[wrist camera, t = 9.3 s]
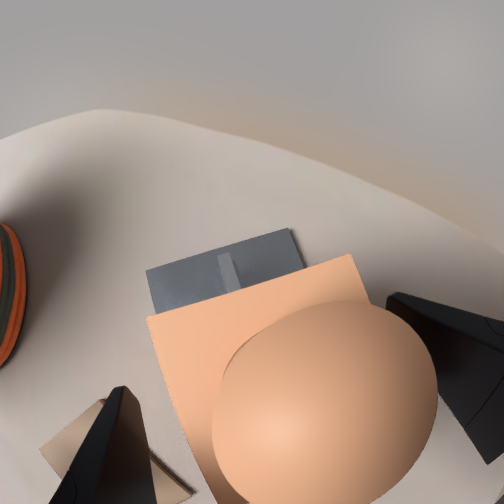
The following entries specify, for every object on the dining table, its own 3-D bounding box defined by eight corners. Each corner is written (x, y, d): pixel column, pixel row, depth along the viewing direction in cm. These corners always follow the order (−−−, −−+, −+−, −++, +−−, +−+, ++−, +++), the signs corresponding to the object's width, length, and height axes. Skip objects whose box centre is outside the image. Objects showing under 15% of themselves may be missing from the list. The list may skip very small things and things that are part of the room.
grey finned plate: (361, 438, 15) (397, 460, 10) (224, 488, 13) (220, 528, 9) (286, 231, 20) (301, 193, 15) (148, 273, 18) (120, 246, 13)
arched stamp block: (317, 393, 15) (489, 451, 3) (225, 425, 14) (218, 587, 2) (286, 306, 17) (415, 192, 5) (194, 335, 16) (81, 288, 4)
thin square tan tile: (192, 492, 13) (191, 495, 13) (117, 529, 11) (115, 532, 10) (101, 398, 15) (98, 399, 14) (41, 448, 13) (38, 449, 12)
